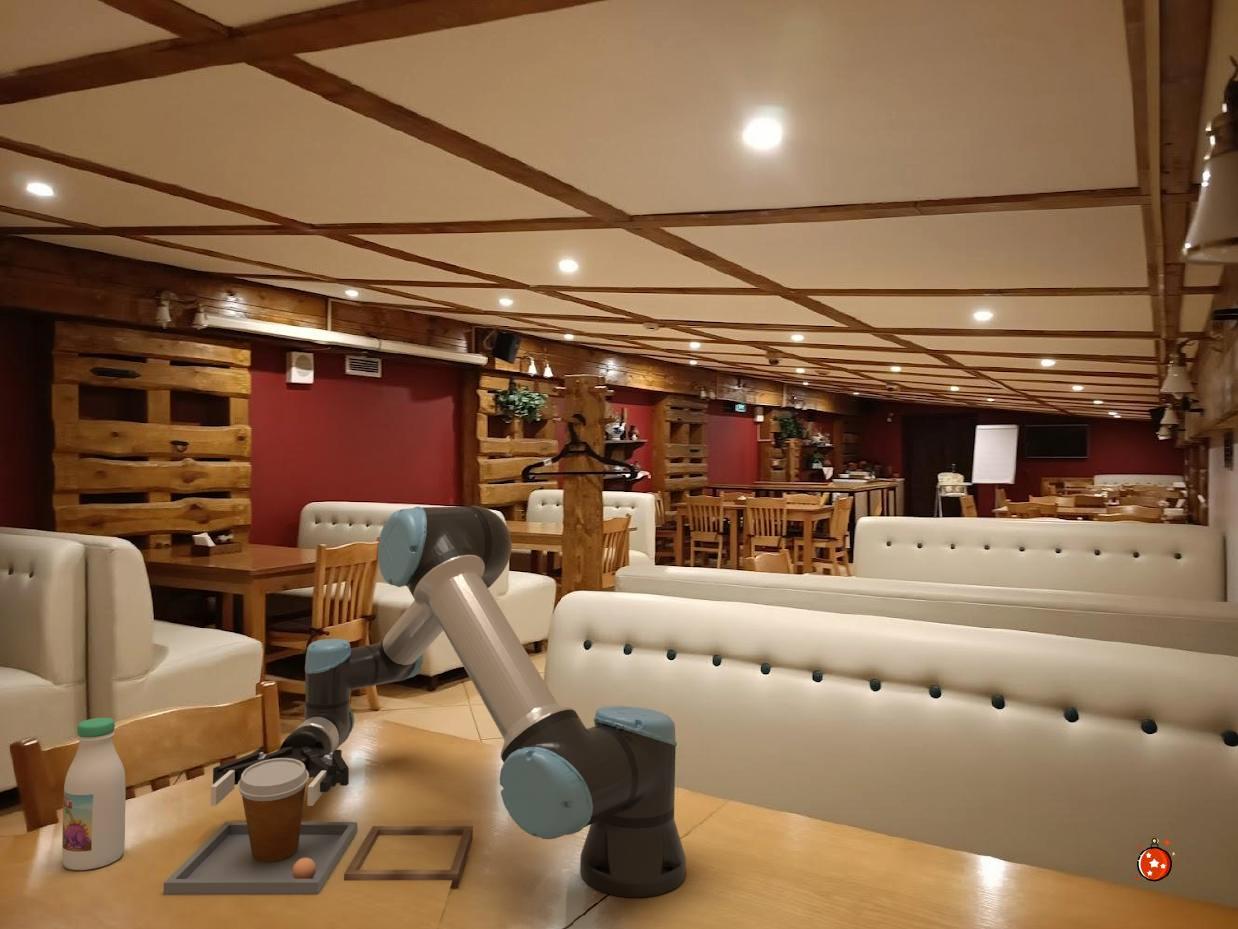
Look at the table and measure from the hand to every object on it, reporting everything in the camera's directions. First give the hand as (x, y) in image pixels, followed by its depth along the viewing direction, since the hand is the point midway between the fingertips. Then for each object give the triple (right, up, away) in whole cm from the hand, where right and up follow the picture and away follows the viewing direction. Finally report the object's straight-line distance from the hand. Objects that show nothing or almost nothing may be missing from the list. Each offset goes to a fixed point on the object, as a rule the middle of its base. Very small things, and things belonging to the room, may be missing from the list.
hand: (261, 796), depth 122 cm
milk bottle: (-25, -10, +2) cm, 27 cm away
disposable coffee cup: (+1, -9, +2) cm, 9 cm away
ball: (+8, -9, -6) cm, 14 cm away
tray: (+1, -10, 0) cm, 10 cm away
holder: (+21, -11, +2) cm, 24 cm away
